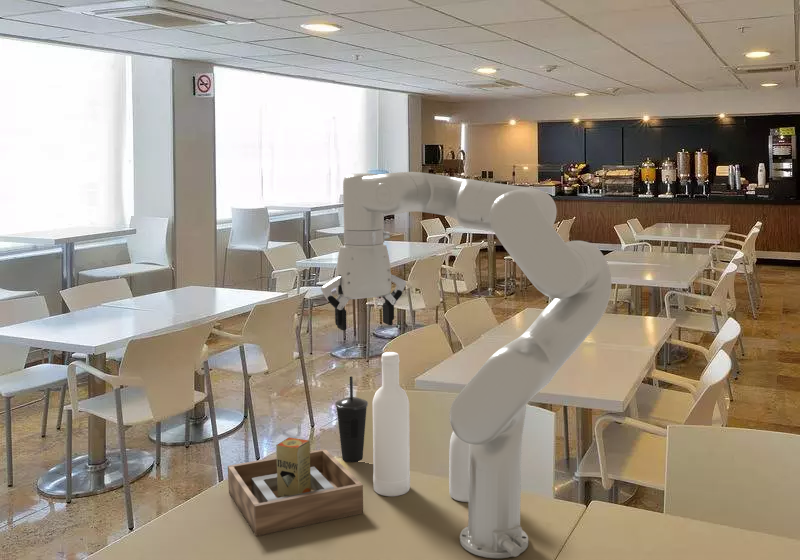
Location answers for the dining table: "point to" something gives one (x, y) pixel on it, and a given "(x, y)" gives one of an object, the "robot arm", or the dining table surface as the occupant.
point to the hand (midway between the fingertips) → (365, 326)
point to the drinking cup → (351, 425)
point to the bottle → (391, 432)
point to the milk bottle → (458, 469)
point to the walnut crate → (268, 513)
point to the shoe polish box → (293, 467)
